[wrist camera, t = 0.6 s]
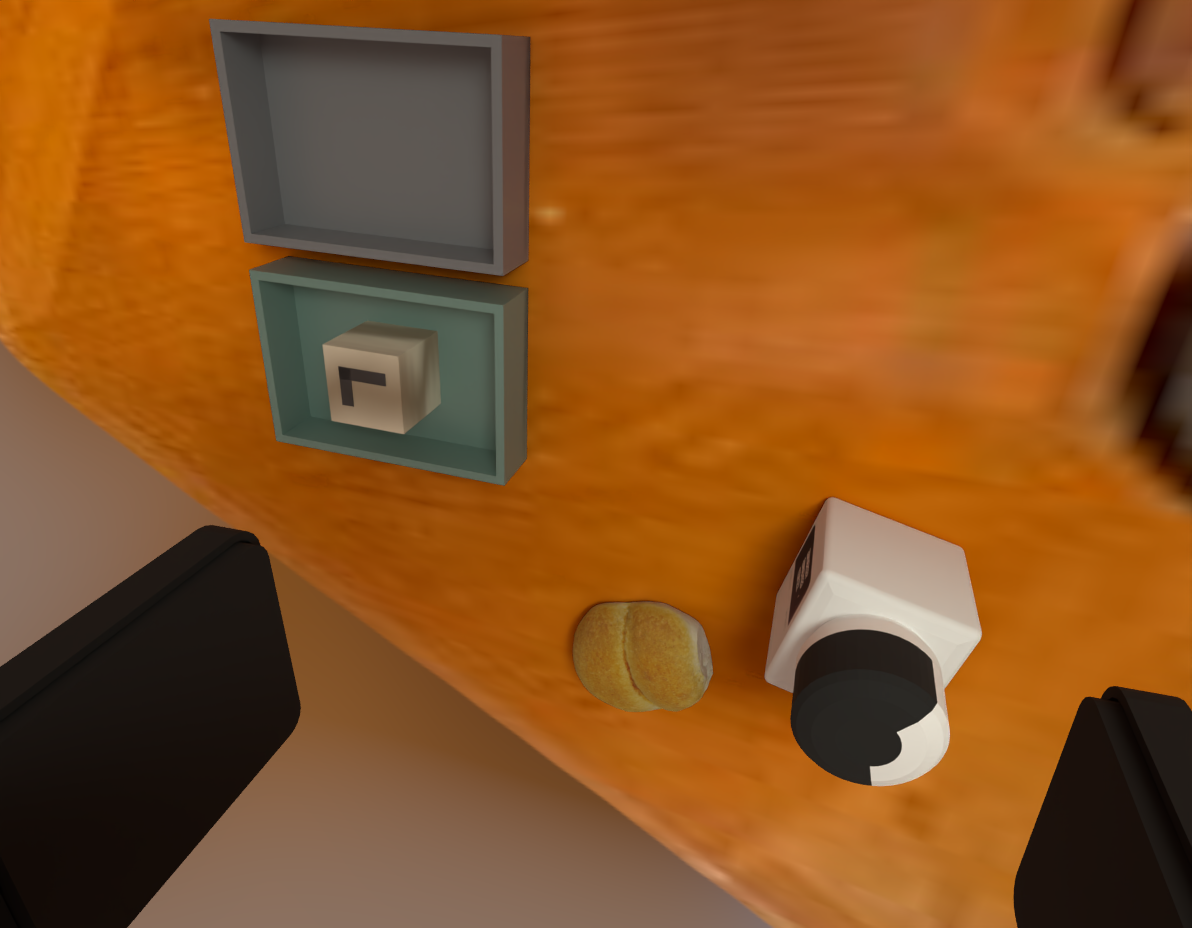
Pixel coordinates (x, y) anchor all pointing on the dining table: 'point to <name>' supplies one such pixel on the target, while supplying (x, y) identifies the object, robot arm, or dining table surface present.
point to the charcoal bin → (379, 141)
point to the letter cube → (383, 376)
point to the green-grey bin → (448, 305)
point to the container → (871, 644)
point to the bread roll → (642, 656)
